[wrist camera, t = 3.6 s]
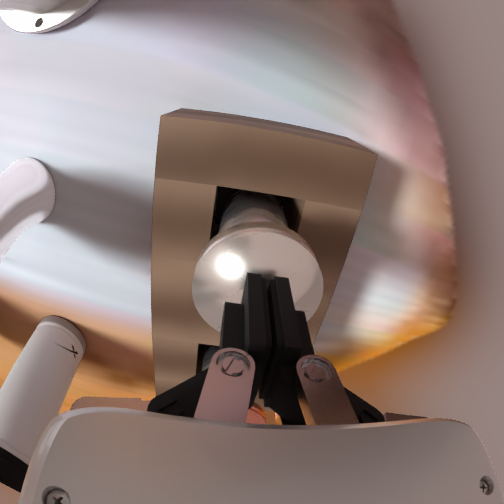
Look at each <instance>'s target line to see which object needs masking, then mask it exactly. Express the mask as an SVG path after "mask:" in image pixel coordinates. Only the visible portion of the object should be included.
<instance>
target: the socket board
mask: <svg viewBox="0 0 504 504" xmlns="http://www.w3.org/2000/svg"><path fill="white" fill-rule="evenodd" d="M377 156H378V155H377V154H375V153H374V152H372V151H370V150H369V149H367V148H365V147H363V146H361V145H360V144H358V143H356V142H354V141H352V140H351V139H349V138H347V137H343V136H339V135H335V134H331V133H327V132H323V131H318V130H314V129H310V128H305V127H300V126H296V125H291V124H286V123H280V122H275V121H270V120H264V119H258V118H252V117H246V116H240V115H233V114H226V113H219V112H211V111H202V110H193V109H184V108H181V109H178V110H175V111H172V112H170V113H167V114H164V115H161V117H160V125H159V135H158V145H157V155H156V167H155V181H154V196H153V215H152V244H151V313H152V341H153V360H154V376H155V389H156V396H158V395H160V394H162V393H164V392H165V391H167V390H169V389H171V388H173V387H175V386H177V385H178V384H180V383H182V382H184V381H186V380H188V379H189V378H191V377H193V376H195V375H197V374H198V373H200V372H202V366H203V358H204V349H205V344H207V345H215V346H219V344H220V332H218V331H217V330H215V329H214V328H212V327H211V326H210V325H209V324H208V323H207V322H206V321H205V320H204V319H203V318H202V317H201V315H200V314H199V312H198V311H197V309H196V307H195V304H194V301H193V296H192V282H193V277H194V272H195V268H196V264H197V261H198V258H199V255H200V253H201V252H202V250H203V248H204V247H205V246H206V244H207V243H208V242H209V241H210V240H211V239H212V238H213V237H214V236H216V235H217V234H218V233H219V230H220V224H214V222H215V215H216V208H217V201H218V194H219V187H220V186H222V187H228V188H235V189H242V190H248V191H255V192H261V193H267V194H273V195H279V196H285V197H286V198H285V202H284V207H283V211H284V214H285V218H286V221H287V224H288V228H289V229H291V230H293V231H294V232H296V233H297V234H299V235H300V236H301V237H302V238H303V239H304V240H305V241H306V242H307V243H308V244H309V246H310V247H311V249H312V250H313V252H314V255H315V257H316V260H317V262H318V265H319V268H320V270H321V273H322V277H323V287H324V288H323V295H322V299H321V302H320V304H319V307H318V308H317V310H316V312H315V313H314V315H313V316H312V317H311V318H310V319H309V320H308V321H307V325H308V329H309V333H310V338H311V342H312V345H313V343H314V341H315V338H316V336H317V333H318V331H319V328H320V326H321V323H322V321H323V318H324V316H325V313H326V311H327V308H328V306H329V303H330V300H331V298H332V295H333V292H334V290H335V287H336V284H337V282H338V279H339V276H340V273H341V271H342V268H343V265H344V262H345V259H346V257H347V254H348V251H349V248H350V245H351V242H352V239H353V236H354V233H355V230H356V227H357V224H358V221H359V218H360V214H361V211H362V208H363V205H364V202H365V198H366V195H367V192H368V188H369V185H370V181H371V178H372V174H373V171H374V167H375V164H376V160H377ZM254 402H255V403H257V404H258V405H260V406H261V407H262V408H263V409H264V411H273V410H272V409H271V408H270V407H264V399H259V391H258V392H257V395H256V398H255V401H254Z"/></svg>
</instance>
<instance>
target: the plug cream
mask: <svg viewBox="0 0 504 504" xmlns="http://www.w3.org/2000/svg"><path fill="white" fill-rule="evenodd" d="M247 272H248V273H256V274H261V278H265V279H266V286H267V285H268V281H269V279H274V277H275V276H278V277H286V278H289V282H290V287H291V292H292V297H293V302H294V307H295V310H300V311H304V313H305V316H306V320H307V321H308V320H309V319H310V318H311V317H312V316H313V315H314V313H315V312H316V310H317V308H318V307H319V304H320V302H321V299H322V295H323V288H324V287H323V277H322V273H321V270H320V268H319V265H318V262H317V260H316V257H315V255H314V252H313V250H312V249H311V247H310V246H309V244H308V243H307V242H306V241H305V240H304V239H303V238H302V237H301V236H300V235H299V234H297V233H296V232H294V231H293V230H291V229H289V228H288V224H287V221H286V218H285V214H284V211H283V208H282V205H281V203H280V202H279V200H278V199H277V198H276V197H275V196H274V195H273V194H267V193H261V192H255V191H248V190H241V191H238V192H236V193H235V194H233V195H232V196H231V197H230V198H229V199H228V200H227V202H226V203H225V205H224V208H223V211H222V217H221V223H220V230H219V233H218V234H217V235H216V236H214V237H213V238H212V239H211V240H210V241H209V242H208V243H207V244H206V246H205V247H204V248H203V250H202V252H201V253H200V255H199V258H198V261H197V264H196V268H195V272H194V277H193V282H192V296H193V301H194V304H195V307H196V309H197V311H198V312H199V314H200V315H201V317H202V318H203V319H204V320H205V321H206V322H207V323H208V324H209V325H210V326H211V327H212V328H214V329H215V330H217V331H218V332H221V324H222V316H223V310H224V304H225V302H231V303H239V304H241V300H242V295H243V290H244V285H245V280H246V275H247Z"/></svg>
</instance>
